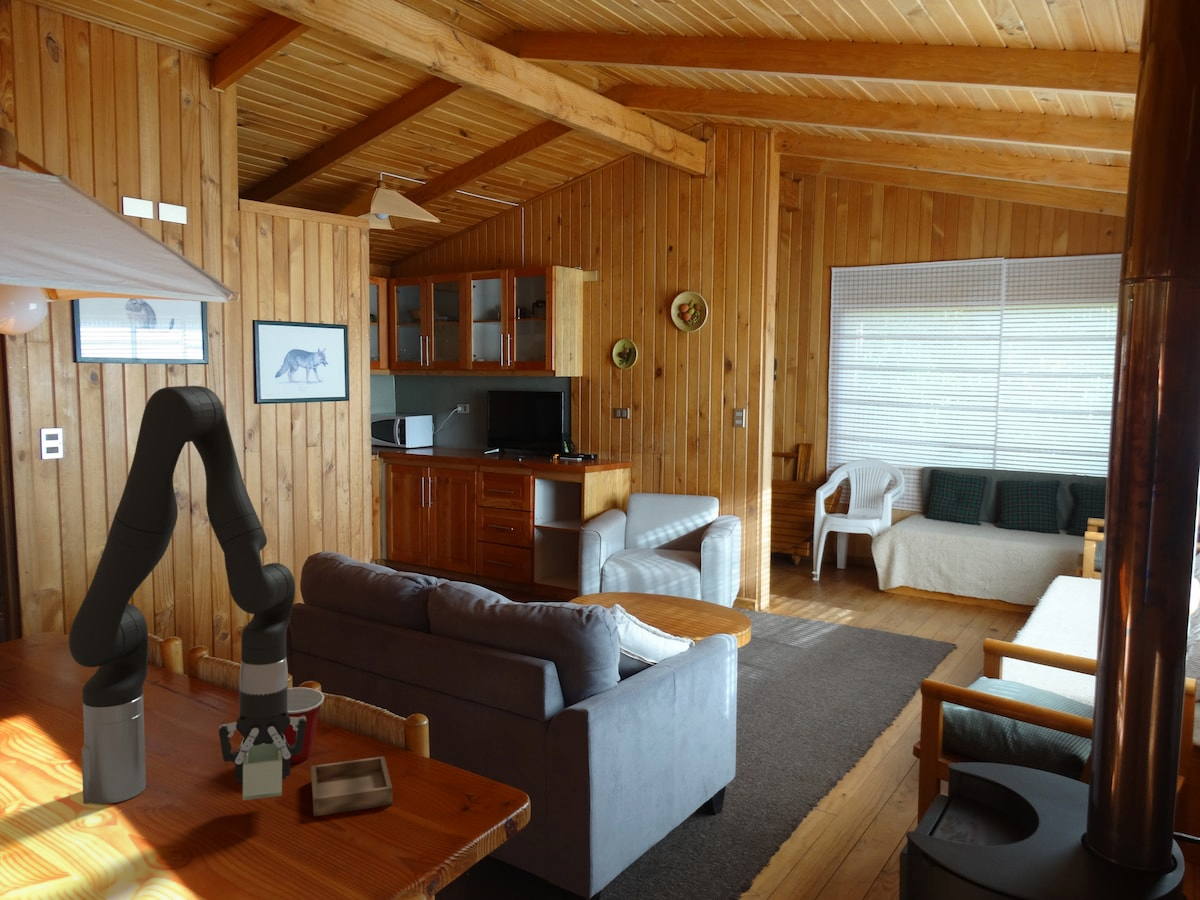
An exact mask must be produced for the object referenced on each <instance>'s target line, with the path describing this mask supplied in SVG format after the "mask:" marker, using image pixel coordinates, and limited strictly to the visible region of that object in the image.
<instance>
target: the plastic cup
mask: <svg viewBox="0 0 1200 900" xmlns="http://www.w3.org/2000/svg"><path fill="white" fill-rule="evenodd" d="M324 700H325V695H324V693H323V692H321V691H320V690H318V689H315V688H310V687H300V686H299V687H289V688H288V697H287V712H288V714H289V715H290V717H299V716H301V715H305V716H306V729H305V735H304V742H303V748H302V752H301V753H300V754H298V755H297V754H295V755H293V756H292V757H291V759H290V764H294V763H295V764H296V763H300V762H304V761H306V760H308V759H309V758H311V756H312V751H313V745H314V739H315V735H316V729H317V723H318V717H319V713H320V709H321V705H322V704H323V703H324ZM296 732H297V731H295V730H293V726H292V725H291V724H289V726H288V727H287V728H286V730H285V731H284V732H283V734H284V736H285V739H286V741H287V743H288V745H289V746H291V745H294V744H295V738H296Z"/></svg>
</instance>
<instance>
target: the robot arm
mask: <svg viewBox="0 0 1200 900" xmlns="http://www.w3.org/2000/svg"><path fill="white" fill-rule="evenodd" d="M139 427H140V428H139V432H138V437H137V441H136V446H135V450H134V455H133V459H132V462H131V467H130V470H129V473H128V475H127V479H126V482H125V486H124V489H123V492H122V496H121V498H120V500H119V503H118V506H117V509H116V511H115V513H114V517H113V520H112V522H111V524H110V525H111V526H110V529H109V532H108V535H107V539H106V542H105V545H104V549H103V551H102V554H101V556H100V558H99V562H98V564H97V567H96V570H95V574H94V575H93V577H92V581H91V583H90V586H89V588H88V590H87V592H86V594H85V596H84V599H83V600H82V602H81V604H80V606H79V609H78V611H77V612H76V615H75V617H74V619H73V622H72V624H71V626H70V629H69V634H68V635H69V636H68V648H69V652H70V654H71V656H72V658H73V660H74V661H75V662H76V663H77V664H78V665H81V666H82V667H86V668H96V667H98V668H97V670H96V671H95V673H94V674H93V675H92V676H91V677H90V678H89V679H88V680H87V681H86V682H85V684H84V685H83V687H82V691H81V692H82V693H81V695H82V712H83V713H82V714H83V716H82V717H83V741H84V745H83V746H82V749H81V774H82V776H81V778H82V798H83V799H82V801H83V802H82V803H83V804H87V803H93V804H99V805H106V804H107V805H108V804H115V803H120V802H124V801H127V800H130V799H132V798H135V797H136V796H139V795H140V794H141V793H142V792H144V791H145V789H146V787H147V774H146V752H145V751H146V748H145V747H146V744H145V742H146V741H145V715H144V713H145V711H144V708H145V707H144V684H145V681H146V679H147V676H148V663H149V661H148V660H149V630H148V629H149V628H148V624H147V620H146V618H145V615H144V614H143V612H142V611H141V610H140V609H139V608H138V607H137V606H136V605H134V604H131V603H129V602H130V601H131V599H132V596H133V595H134V594H135V592H136V590H138V588H139V587H140V586H141V585H142V583H143V582H144V581H145V580H146V579H147V578H148V576H149V575H150V574H151V573H152V571H153V570H154V569H155V568H156V566H157V565H158V564H159V563H160V561H161V560H162V558H163V557H164V555H165V553H166V551H167V550H168V547H169V544H170V542H171V539H172V536H173V532H175V531H174V530H175V527H176V524H177V521H178V515H179V513H178V512H179V511H178V502H177V498H176V492H175V487H174V474H175V469H176V466H177V463H178V462H179V461H178V460H179V458H180V455H181V453H182V450H183V449H184V446H185V445H186V443H189V442H190V443H191V442H192V444H193V446H194V447H195V449H196V451H197V452H198V454H199V456H200V458H201V460H202V461H201V462H202V464H203V468H204V474H205V482H206V485H205V489H206V490H205V503H206V506H205V507H206V511H207V512H206V513H207V516H208V520H209V523H210V524H211V527H212V530H213V533H214V535H215V537H216V539H217V541H218V543H219V545H220V548H221V551H222V552H223V556H224V566H225V571H226V577H227V583H228V584H227V585H228V588H229V592H230V595H231V597H232V599H233V601H234V603H235V604H236V605H237V607H238V608H240V609H241V610H242V611H244V612H245V613H247V614H250V615H251V614H252V615H253V617H251V619H250V621H249V622H248V623H247V624H246V625H245V626H244V627H243V629H242V632H241V638H240V639H241V640H240V641H241V646H240V647H241V649H240V655H241V656H240V657H241V658H240V659H241V660H240V662H241V663H240V668H239V681H238V683H239V695H238V697H239V704H238V705H239V710H238V711H239V716H238V719H237V720H236V721H234V722H229V723H227V722H225V721H222V722H221V723H220V724H219V728H218V735H219V741H220V747H221V754H222V758H223V762H225V763H229V762H230V763H231V762H232V763H233V764H234V779H235V782H236V783H237V782H239V786H241V785H242V786H243V759H244V758H245V756H246V754H247V753H248V751H249V750H250V748H251V746H252V744H253V746H255V745H260V744H273V742H274V743H275V744H276V746H277V748H278V749H279V750H280V752H281V754H282V781H286V780H287V777H289V776H290V775H291V763H290V759H291V757H292V756H293V755H295V754H297V755H298V754H300V753H301V752H302V748H303V742H304V735H305V729H306V716H305V715H301V716H299V717H290V715H289V714H288V712H287V697H288V681H289V673H288V671H289V668H288V662H287V629H288V626H289V623H290V620H291V616H292V610H293V607H294V601H295V596H296V583H295V579H294V575H293V574H292V571H291V570H290V569H289V568H288V567H287V566H285V565H284V564H283V563H280V562H270V563H266V564H264V565H263V564H262V563H263V562H262V558H261V551H262V550H263V549H264V548H265V547H266V545H267V544H268V543H267V542H268V539H267V536H266V535H267V534H266V533H265V530H264V528H263V526H262V525H263V524H262V523H261V521H260V518H259V516H258V514H257V512H256V510H255V508H254V506H253V503H252V501H251V498H250V496H249V493H248V490H247V488H246V484H245V483H244V479H243V476H242V473H241V468H240V466H239V462H238V458H237V453H236V450H235V446H234V443H233V438H232V435H231V432H230V426H229V423H228V418H227V414H226V412H225V408H224V406H223V404H222V402H221V399H220V398H219V396H218V395H217V394H216V393H215V392H214V391H213V390H211V388H208V387H205V386H200V385H180V386H177V385H176V386H166V387H163V388H159V389H158V390H157V391H155V392H154V393H152V394H151V396H150V397H149V398H148V401H147V402H146V404H145V407H144V410H143V413H142V417H141V422H140V426H139ZM289 724H291V725H292V726H293V730H295V731H297V732H296V738H295V744H294V745H291V746H289V745H288V743H287V741H286V739H285V736H284V734H283V732H284V731H285V730H286V728H287V727H288V726H289ZM236 730H237V731H238V732H239V734H241V736H242V737H243V739H242V741H241V743H240V745H239V748H238V749H237V751H235V750H233V749H232V745H231V744H232V743H231V738H232V737H233V735H234V732H235V731H236Z"/></svg>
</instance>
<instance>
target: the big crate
mask: <svg viewBox="0 0 1200 900" xmlns="http://www.w3.org/2000/svg"><path fill="white" fill-rule="evenodd" d="M387 765H388V764H387V762H386V759H385V755H384V756H375V757H368V758H361V759H353V760H346V761H337V762H331V763H323V764H314V765H310V769H311V770H310V772H311V773H310V775H311V777H310V778H311V780H310V781H311V782H310V783H311V794H312V797H311V798H312V810H313V811H312V812H313V817H320V816H325V815H332V814H339V813H346V812H352V811H359V810H366V809H371V808H373V809H374V808H380V807H384V806H390V805H391V806H392V805H393V785H392V782H391V781H392V780H391V778H390V774H389V773H390V772H389V770H388V766H387ZM379 806H380V807H379Z"/></svg>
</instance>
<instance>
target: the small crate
mask: <svg viewBox="0 0 1200 900" xmlns="http://www.w3.org/2000/svg"><path fill="white" fill-rule="evenodd" d="M282 794H283V780H282V754H281V752H280V750H279V749H278V748H277V746H276V744H275V743H274V742H273V744H260V745H255V746H253V744H252V746H251V748H250V750H249V751H248V753H247V754H246V756H245V758H244V759H243V785H242V801H250V800H256V799H257V800H259V799H264V798H265V799H266V798H273V797H282V796H283V795H282Z"/></svg>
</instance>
